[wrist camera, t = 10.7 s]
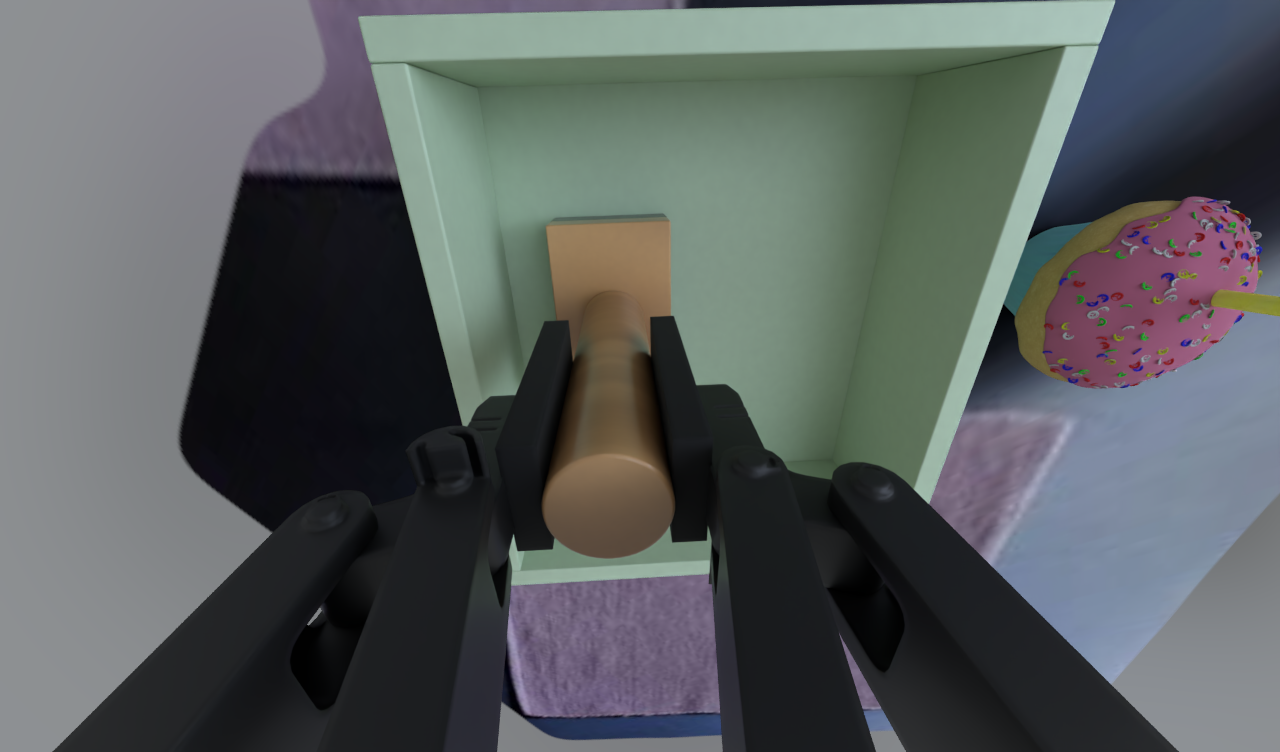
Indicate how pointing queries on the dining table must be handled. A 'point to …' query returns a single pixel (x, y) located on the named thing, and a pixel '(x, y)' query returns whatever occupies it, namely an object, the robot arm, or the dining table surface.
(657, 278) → the wooden stamp
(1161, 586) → the dining table surface
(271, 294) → the dining table surface
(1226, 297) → the cupcake
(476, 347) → the tub
